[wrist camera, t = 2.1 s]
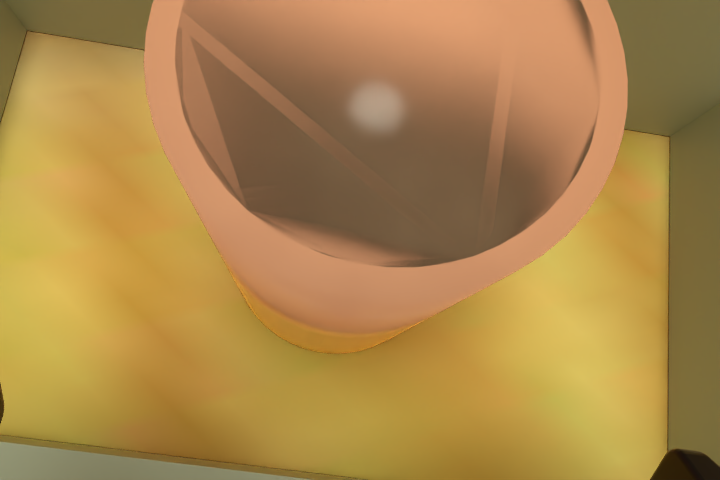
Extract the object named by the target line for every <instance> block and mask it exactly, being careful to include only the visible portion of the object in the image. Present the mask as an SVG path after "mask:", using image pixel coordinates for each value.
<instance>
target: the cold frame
mask: <svg viewBox="0 0 720 480" xmlns="http://www.w3.org/2000/svg"><path fill="white" fill-rule="evenodd" d="M607 1H608V3H609V6H610V8H611V11H612V13H613V16H614V18H615V21H616V23H617V26H618V30H619V34H620V38H621V41H622V45H623V49H624V54H625V62H626V70H627V78H628V97H627V113H626V120H625V126H624V129H628V130H634V131H640V132H646V133H652V134H658V135H664V136H670V232H669V391H668V451H670V450H671V449H674V448H679V449H687V450H694V451H700V452H702V453H704V454H706V455H707V456H709V457H710V458H711V459H712V460H713V461H714V462H715V463H717V464H718V465H719V466H720V0H607ZM152 3H153V0H0V121H1V118H2V114H3V111H4V107H5V104H6V100H7V97H8V94H9V90H10V87H11V83H12V80H13V76H14V73H15V69H16V66H17V62H18V59H19V56H20V52H21V49H22V45H23V42H24V38H25V35H26V31H27V30H28V31H34V32H40V33H46V34H52V35H59V36H65V37H71V38H77V39H83V40H89V41H95V42H101V43H107V44H113V45H119V46H125V47H131V48H137V49H143V50H145V38H146V30H147V25H148V21H149V16H150V12H151V7H152ZM0 480H366V479H357V478H349V477H341V476H333V475H325V474H316V473H308V472H300V471H292V470H284V469H276V468H267V467H259V466H251V465H243V464H235V463H226V462H218V461H210V460H202V459H194V458H185V457H177V456H169V455H161V454H153V453H145V452H136V451H128V450H120V449H112V448H104V447H95V446H87V445H79V444H71V443H63V442H54V441H46V440H38V439H30V438H22V437H14V436H5V435H0Z"/></svg>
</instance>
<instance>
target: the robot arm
mask: <svg viewBox="0 0 720 480" xmlns="http://www.w3.org/2000/svg"><path fill="white" fill-rule="evenodd" d="M3 413H4V400H3V395H2V389H1V384H0V423H1V421H2V417H3ZM650 480H720V466H719V465H718V464H717V463H715V462H714V461H713V460H712V459H711V458H710V457H709V456H707V455H706V454H704V453H702V452H700V451H694V450H687V449H679V448H674V449H671V450H670V451H668V452H667V453H666V455H665V456H664V458H663V459H662V461H661V463H660V464H659V466H658V468H657V469H656V471H655V472H654V474H653V476H652V477H651V479H650Z"/></svg>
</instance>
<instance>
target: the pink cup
mask: <svg viewBox="0 0 720 480" xmlns="http://www.w3.org/2000/svg"><path fill="white" fill-rule="evenodd" d="M144 71H145V83H146V94H147V98H148V103H149V107H150V111H151V116H152V120H153V124H154V127H155V129H156V132H157V134H158V137H159V139H160V142H161V144H162V147H163V150H164V152H165V154H166V156H167V158H168V160H169V162H170V163H171V165H172V167H173V169H174V171H175V173H176V174H177V176H178V178H179V180H180V182H181V184H182V185H183V187H184V189H185V191H186V193H187V195H188V197H189V198H190V200H191V202H192V204H193V206H194V208H195V209H196V211H197V213H198V215H199V217H200V219H201V220H202V222H203V224H204V226H205V228H206V230H207V231H208V233H209V235H210V237H211V239H212V241H213V242H214V244H215V246H216V248H217V250H218V252H219V253H220V255H221V257H222V259H223V261H224V263H225V264H226V266H227V268H228V270H229V272H230V274H231V275H232V277H233V279H234V281H235V283H236V285H237V286H238V288H239V290H240V292H241V294H242V296H243V297H244V299H245V301H246V303H247V304H248V306H249V308H250V309H251V310H252V312H253V313H254V314H255V316H256V317H257V318H258V319H259V320H260V321H261V322H262V323H263V324H264V325H265V326H266V327H267V328H268V329H269V330H271V331H272V332H273V333H275V334H276V335H277V336H279V337H281V338H282V339H284V340H286V341H288V342H289V343H291V344H294V345H296V346H299V347H301V348H304V349H308V350H311V351H315V352H322V353H330V354H338V353H351V352H358V351H362V350H365V349H369V348H372V347H374V346H377V345H379V344H381V343H383V342H385V341H387V340H389V339H391V338H393V337H395V336H397V335H398V334H400V333H402V332H404V331H406V330H408V329H410V328H412V327H413V326H415V325H417V324H419V323H421V322H423V321H425V320H426V319H428V318H430V317H432V316H434V315H436V314H438V313H439V312H441V311H443V310H445V309H447V308H449V307H451V306H453V305H454V304H456V303H458V302H460V301H462V300H464V299H466V298H467V297H469V296H471V295H473V294H475V293H477V292H479V291H480V290H482V289H484V288H486V287H488V286H490V285H492V284H493V283H495V282H497V281H499V280H501V279H503V278H505V277H507V276H508V275H510V274H512V273H514V272H516V271H517V270H519V269H521V268H522V267H524V266H526V265H527V264H529V263H531V262H532V261H534V260H535V259H537V258H539V257H540V256H542V255H543V254H544V253H546V252H547V251H548V250H549V249H551V248H552V247H553V246H554V245H555V244H557V243H558V242H559V241H560V240H561V239H563V238H564V237H565V236H566V235H567V234H568V233H569V232H570V231H571V230H572V228H573V227H574V226H575V225H576V224H577V223H578V222H579V221H580V220H581V218H582V217H583V216H584V215H585V214H586V213H587V211H588V210H589V208H590V207H591V205H592V204H593V202H594V201H595V199H596V198H597V196H598V195H599V193H600V192H601V190H602V189H603V187H604V185H605V182H606V180H607V178H608V176H609V174H610V172H611V170H612V168H613V165H614V163H615V160H616V157H617V154H618V151H619V147H620V144H621V141H622V137H623V133H624V126H625V120H626V113H627V97H628V78H627V70H626V62H625V54H624V49H623V45H622V41H621V38H620V34H619V30H618V26H617V23H616V21H615V18H614V16H613V13H612V11H611V8H610V6H609V3H608V1H607V0H153V3H152V7H151V12H150V16H149V21H148V25H147V30H146V38H145V52H144Z"/></svg>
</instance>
